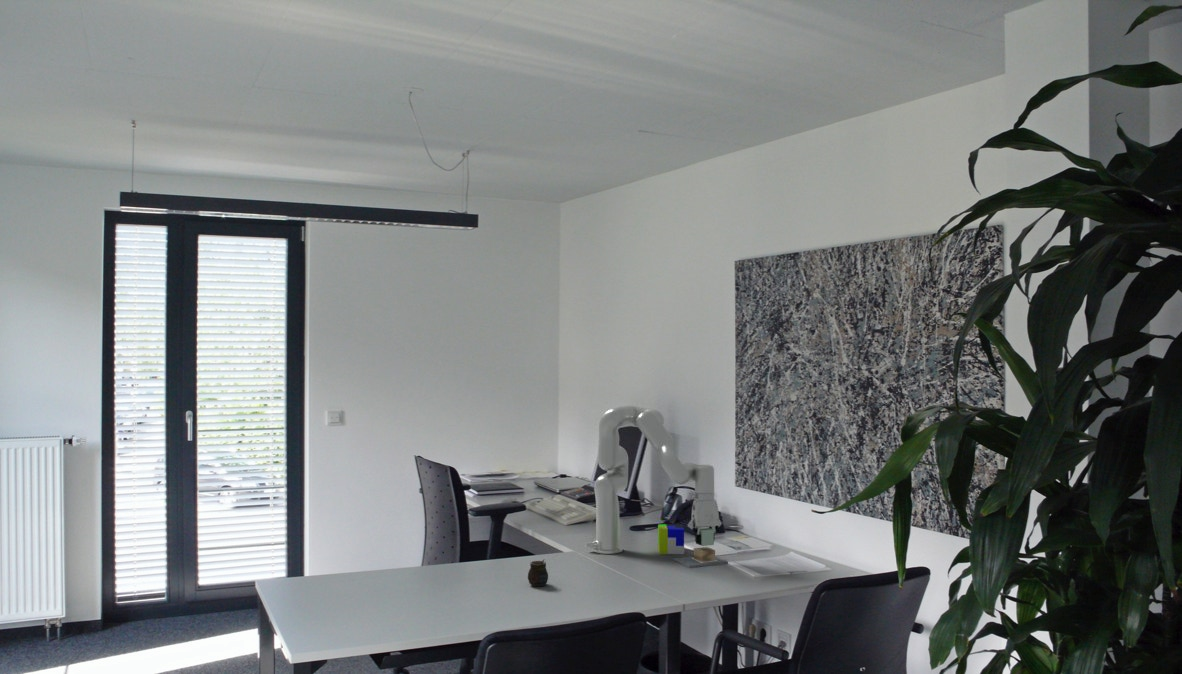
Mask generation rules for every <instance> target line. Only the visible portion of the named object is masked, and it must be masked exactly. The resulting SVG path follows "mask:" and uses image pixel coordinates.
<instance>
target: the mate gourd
mask: <svg viewBox="0 0 1182 674" xmlns="http://www.w3.org/2000/svg"><path fill="white" fill-rule="evenodd" d="M545 560H546V559H543V560H533V561H530V565H529V566H530V568H529V570H528V572H527V580H528V583H529V585H530V586H532V587H535V588H541V587H543V586H546V584H547V583H548V580H549V573H548V570H547V562H546V561H545Z"/></svg>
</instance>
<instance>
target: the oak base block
mask: <svg viewBox="0 0 1182 674" xmlns="http://www.w3.org/2000/svg"><path fill="white" fill-rule="evenodd" d="M715 556H716V550H715V548H714V549H713V548H711V547H709V546H702V547H694V548H693V557H694V559H696V560H699V561H701V562H706V561H715Z"/></svg>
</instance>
